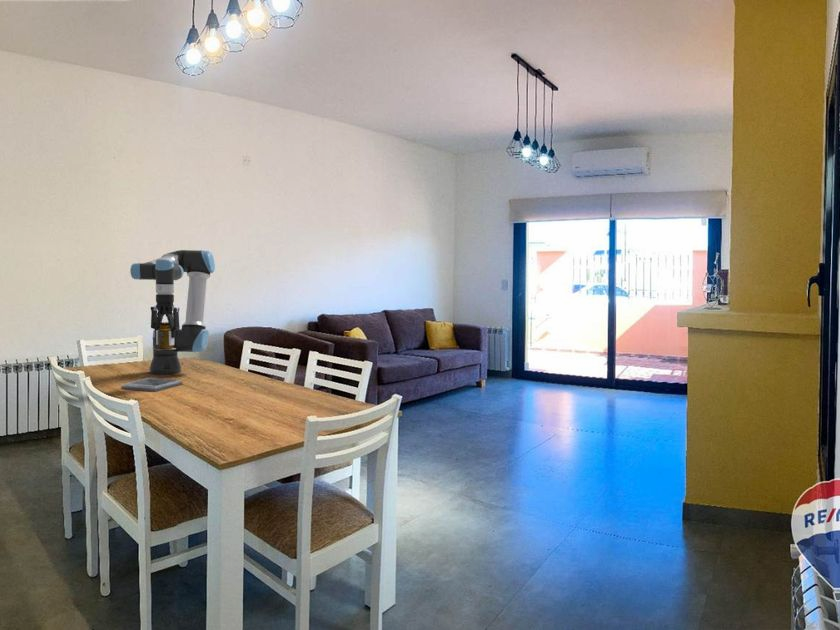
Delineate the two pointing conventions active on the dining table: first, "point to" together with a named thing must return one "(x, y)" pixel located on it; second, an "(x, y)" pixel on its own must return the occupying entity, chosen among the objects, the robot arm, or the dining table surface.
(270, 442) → the dining table surface
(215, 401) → the dining table surface
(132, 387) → the grey square tray
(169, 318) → the robot arm
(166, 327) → the condiment
